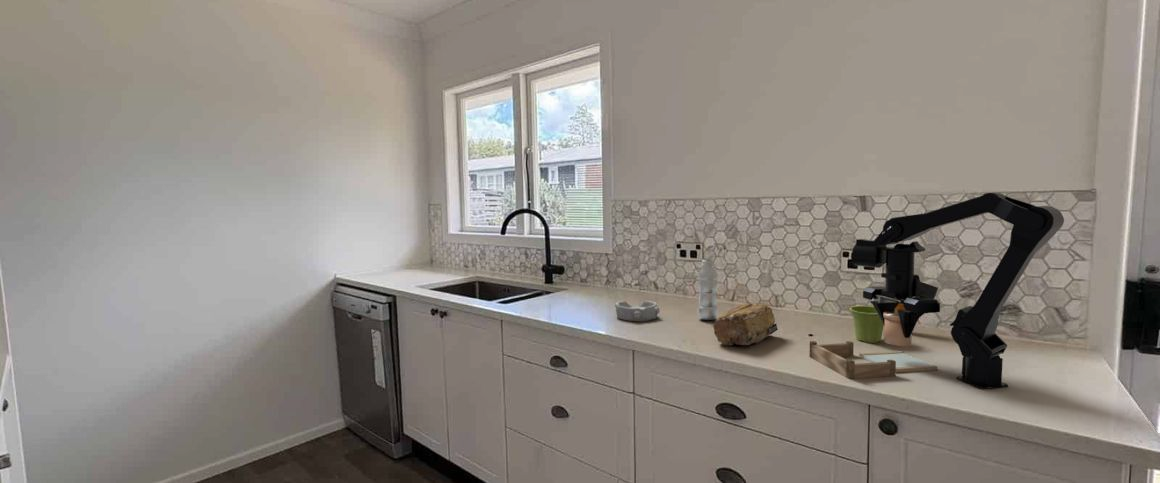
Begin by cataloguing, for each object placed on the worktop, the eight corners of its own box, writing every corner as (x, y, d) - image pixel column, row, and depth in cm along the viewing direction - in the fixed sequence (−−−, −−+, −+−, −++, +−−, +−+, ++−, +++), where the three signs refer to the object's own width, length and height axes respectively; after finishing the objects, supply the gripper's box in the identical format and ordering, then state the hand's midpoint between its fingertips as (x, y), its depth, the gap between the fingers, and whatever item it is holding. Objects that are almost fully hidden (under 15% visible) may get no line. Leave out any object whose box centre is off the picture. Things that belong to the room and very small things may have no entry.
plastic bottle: (693, 319, 173) (692, 259, 171) (709, 316, 175) (709, 258, 174) (705, 323, 167) (705, 261, 165) (722, 320, 170) (722, 260, 168)
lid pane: (937, 369, 119) (937, 366, 119) (892, 372, 118) (893, 369, 118) (900, 354, 131) (900, 351, 131) (859, 356, 130) (859, 353, 130)
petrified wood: (754, 351, 135) (745, 313, 135) (709, 353, 144) (701, 317, 144) (780, 332, 150) (772, 299, 150) (738, 335, 158) (731, 303, 159)
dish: (610, 315, 182) (610, 301, 181) (646, 311, 186) (646, 298, 185) (626, 324, 168) (626, 309, 167) (665, 320, 172) (665, 306, 171)
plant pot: (893, 345, 138) (894, 313, 138) (855, 344, 140) (855, 312, 139) (880, 336, 147) (881, 306, 147) (844, 335, 149) (845, 305, 149)
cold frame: (895, 376, 116) (895, 358, 115) (849, 378, 115) (849, 361, 114) (850, 354, 132) (850, 338, 131) (809, 356, 131) (809, 341, 130)
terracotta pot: (919, 345, 121) (920, 316, 121) (894, 347, 120) (895, 317, 120) (900, 338, 127) (901, 310, 127) (876, 339, 127) (877, 311, 126)
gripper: (964, 274, 114) (961, 343, 115) (902, 263, 132) (901, 323, 134) (917, 276, 113) (915, 346, 114) (862, 265, 131) (860, 325, 133)
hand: (898, 334), depth 124 cm, fingers closed on terracotta pot, 6 cm apart
